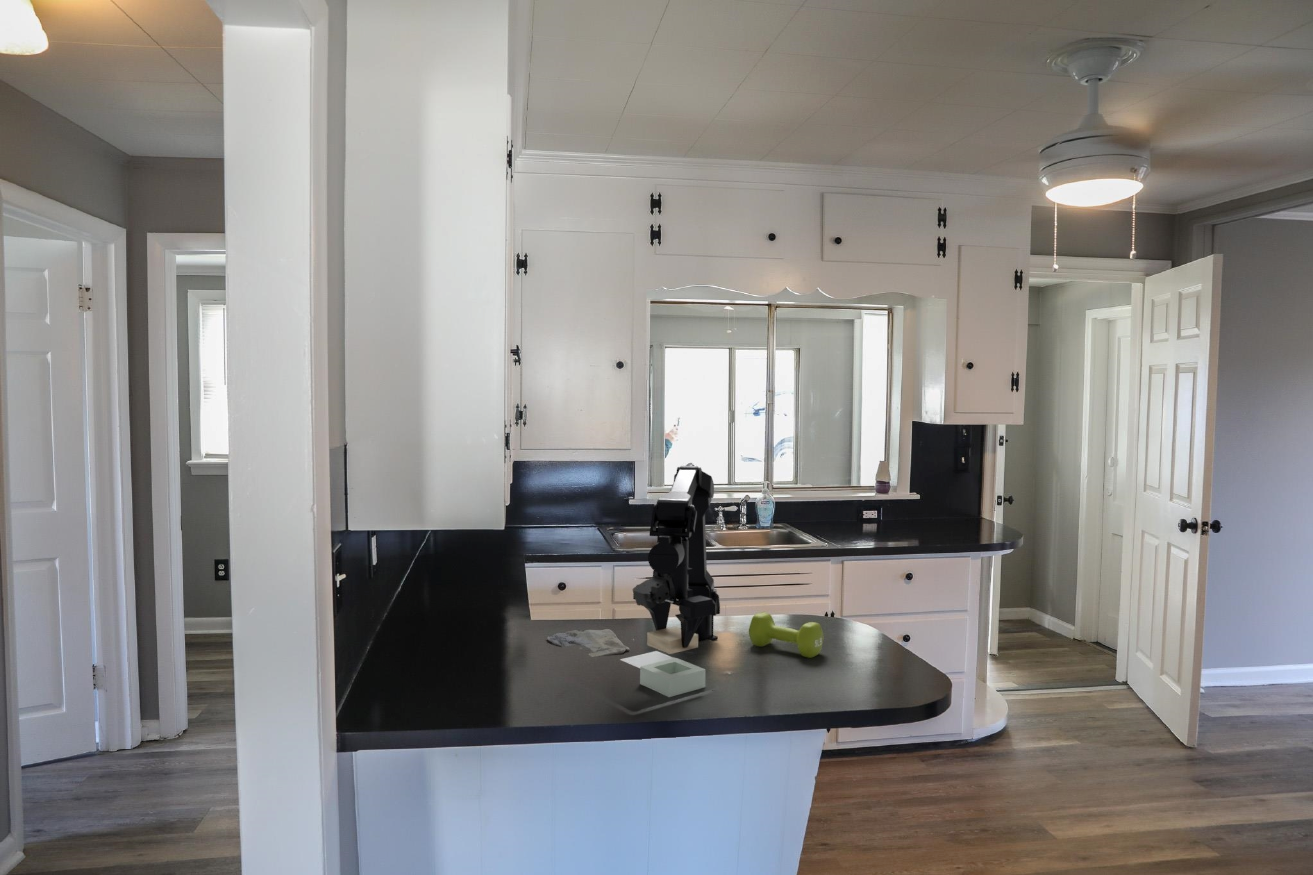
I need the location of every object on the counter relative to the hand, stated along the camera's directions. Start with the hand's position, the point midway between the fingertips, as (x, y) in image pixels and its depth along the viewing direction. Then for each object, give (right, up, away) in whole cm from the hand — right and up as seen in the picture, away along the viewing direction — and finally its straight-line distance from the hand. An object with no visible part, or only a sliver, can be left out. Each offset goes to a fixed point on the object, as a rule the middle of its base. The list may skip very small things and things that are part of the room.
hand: (672, 643), depth 161 cm
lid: (0, -1, 0) cm, 1 cm away
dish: (0, -9, 0) cm, 9 cm away
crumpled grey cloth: (-18, -8, +27) cm, 34 cm away
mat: (-4, -8, +15) cm, 18 cm away
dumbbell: (+26, -8, +26) cm, 37 cm away
